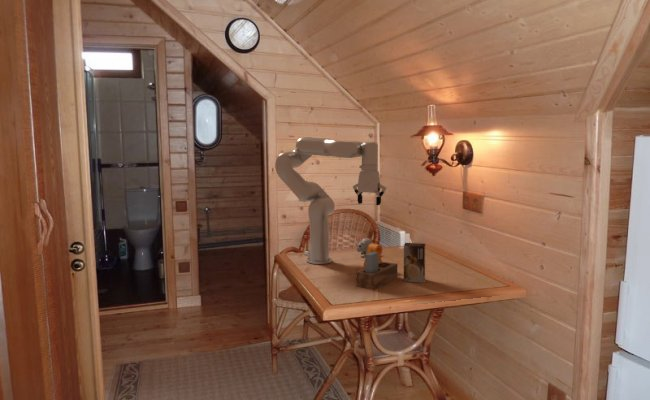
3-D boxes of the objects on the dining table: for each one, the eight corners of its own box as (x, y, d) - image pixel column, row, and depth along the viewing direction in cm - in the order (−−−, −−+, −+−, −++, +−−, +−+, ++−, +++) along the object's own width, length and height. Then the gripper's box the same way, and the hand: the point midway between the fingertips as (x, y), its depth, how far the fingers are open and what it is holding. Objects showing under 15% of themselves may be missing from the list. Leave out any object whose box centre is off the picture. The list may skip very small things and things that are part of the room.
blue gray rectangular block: (365, 282, 212) (365, 254, 211) (371, 278, 217) (372, 251, 216) (371, 283, 210) (371, 255, 209) (378, 279, 215) (378, 252, 214)
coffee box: (425, 279, 222) (426, 243, 220) (424, 283, 216) (425, 246, 214) (404, 277, 224) (405, 242, 222) (402, 281, 218) (403, 245, 216)
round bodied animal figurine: (351, 255, 266) (351, 239, 265) (365, 251, 274) (366, 236, 273) (361, 257, 261) (361, 241, 260) (376, 253, 269) (376, 238, 268)
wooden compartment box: (356, 286, 212) (356, 272, 211) (379, 273, 230) (379, 261, 229) (375, 289, 207) (375, 275, 206) (397, 276, 225) (397, 263, 225)
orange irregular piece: (375, 273, 232) (375, 247, 231) (363, 270, 237) (363, 245, 236) (390, 268, 240) (390, 243, 238) (378, 265, 245) (378, 241, 243)
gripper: (349, 168, 239) (349, 203, 241) (382, 169, 230) (382, 206, 232) (357, 167, 246) (356, 202, 248) (389, 168, 236) (389, 204, 239)
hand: (369, 204), depth 240 cm, fingers open, 9 cm apart
